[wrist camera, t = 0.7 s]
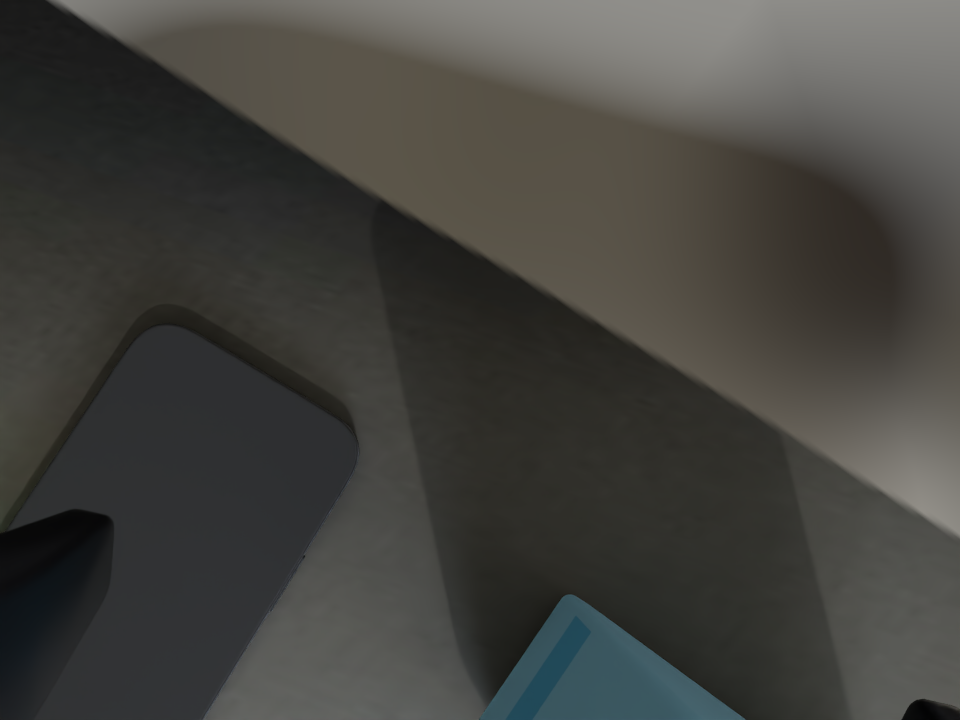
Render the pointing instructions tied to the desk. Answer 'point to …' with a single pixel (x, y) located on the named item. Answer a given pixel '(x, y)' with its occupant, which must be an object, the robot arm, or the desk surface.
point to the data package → (597, 676)
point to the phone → (187, 520)
